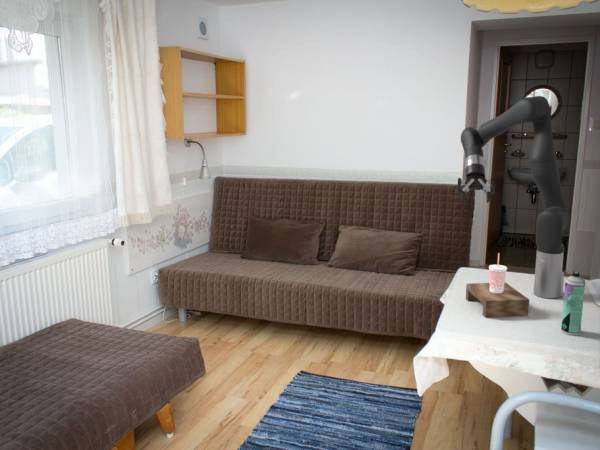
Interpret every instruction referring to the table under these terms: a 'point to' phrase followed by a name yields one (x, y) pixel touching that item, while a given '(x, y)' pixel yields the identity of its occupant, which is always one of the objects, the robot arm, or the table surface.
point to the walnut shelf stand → (498, 300)
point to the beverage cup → (497, 277)
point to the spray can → (573, 304)
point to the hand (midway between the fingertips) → (476, 201)
